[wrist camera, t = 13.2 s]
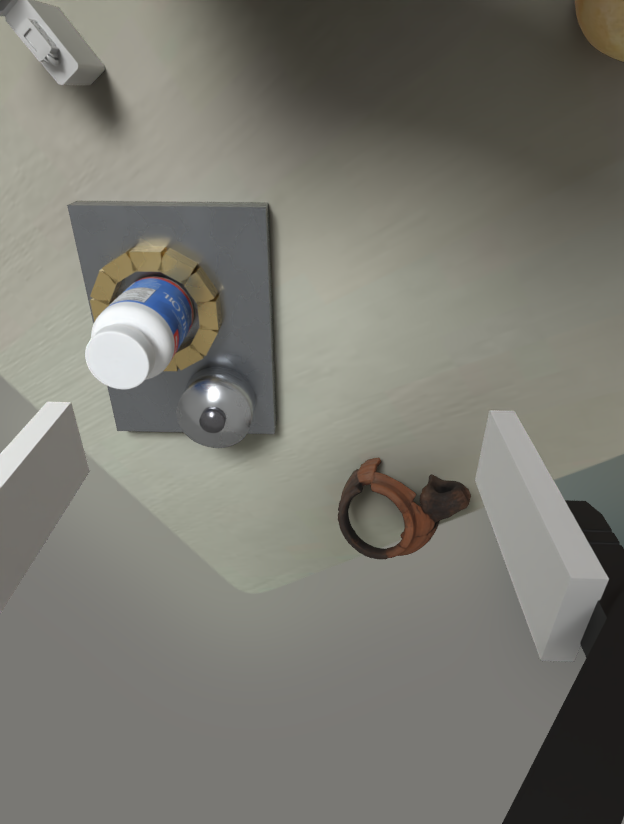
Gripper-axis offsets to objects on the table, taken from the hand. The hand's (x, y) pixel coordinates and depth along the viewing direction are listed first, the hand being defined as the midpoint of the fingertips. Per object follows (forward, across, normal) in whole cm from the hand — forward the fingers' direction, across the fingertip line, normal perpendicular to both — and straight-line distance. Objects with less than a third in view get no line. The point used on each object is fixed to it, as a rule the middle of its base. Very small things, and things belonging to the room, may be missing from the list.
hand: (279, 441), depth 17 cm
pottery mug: (+27, +9, -24) cm, 37 cm away
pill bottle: (+25, -12, -5) cm, 28 cm away
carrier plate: (+27, -10, -7) cm, 29 cm away
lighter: (+27, -16, +13) cm, 34 cm away
